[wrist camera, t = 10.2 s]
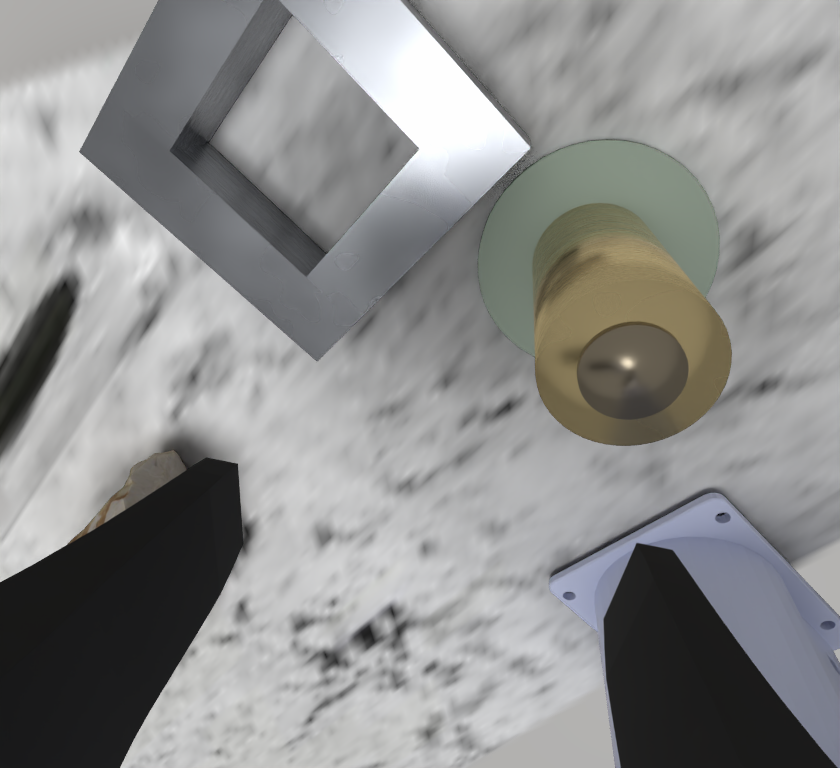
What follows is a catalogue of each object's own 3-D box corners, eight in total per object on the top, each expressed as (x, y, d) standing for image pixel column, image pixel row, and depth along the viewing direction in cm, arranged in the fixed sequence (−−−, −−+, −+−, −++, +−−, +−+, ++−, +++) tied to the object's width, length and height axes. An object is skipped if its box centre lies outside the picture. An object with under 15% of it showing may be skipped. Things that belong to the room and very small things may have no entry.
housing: (530, 139, 16) (530, 148, 14) (337, 334, 20) (317, 361, 18) (286, -138, 14) (248, -172, 12) (126, 143, 18) (79, 151, 16)
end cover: (681, 266, 16) (777, 382, 10) (583, 340, 18) (612, 481, 12) (604, 175, 16) (655, 241, 9) (508, 262, 17) (497, 367, 11)
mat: (764, 266, 16) (770, 270, 16) (574, 399, 20) (575, 405, 19) (614, 80, 15) (616, 80, 14) (433, 258, 18) (431, 262, 18)
